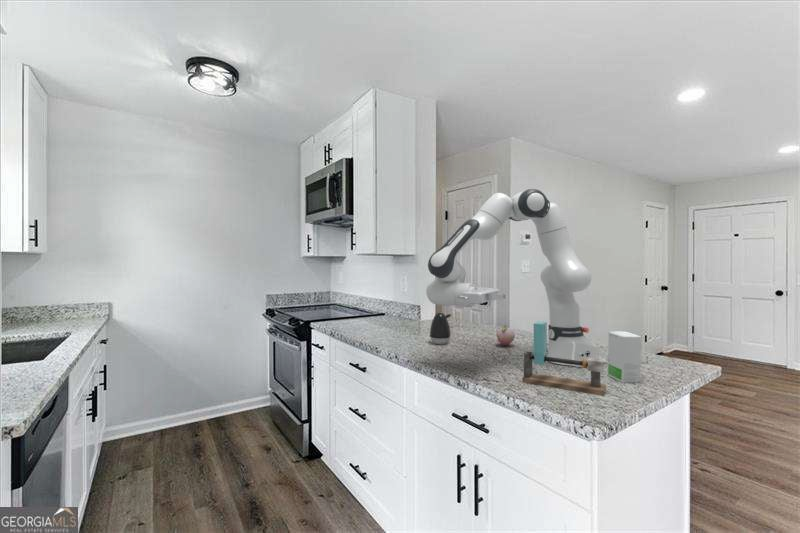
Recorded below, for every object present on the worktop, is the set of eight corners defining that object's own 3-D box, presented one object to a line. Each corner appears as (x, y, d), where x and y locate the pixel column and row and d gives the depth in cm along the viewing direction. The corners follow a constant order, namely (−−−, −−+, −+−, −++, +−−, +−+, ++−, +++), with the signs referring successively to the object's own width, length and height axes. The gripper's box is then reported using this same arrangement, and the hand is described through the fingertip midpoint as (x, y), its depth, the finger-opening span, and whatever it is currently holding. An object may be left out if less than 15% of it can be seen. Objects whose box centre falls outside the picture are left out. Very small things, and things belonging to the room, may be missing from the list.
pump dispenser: (452, 345, 182) (452, 314, 181) (430, 345, 182) (430, 314, 182) (449, 341, 192) (449, 311, 192) (429, 341, 192) (428, 311, 192)
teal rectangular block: (533, 364, 126) (533, 323, 125) (537, 361, 130) (537, 321, 130) (543, 365, 124) (543, 324, 124) (546, 362, 128) (546, 322, 128)
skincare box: (607, 375, 133) (606, 331, 133) (624, 374, 134) (624, 330, 133) (623, 383, 125) (622, 336, 125) (642, 382, 125) (642, 335, 125)
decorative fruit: (515, 348, 175) (515, 326, 174) (497, 347, 176) (497, 326, 176) (513, 344, 184) (513, 323, 184) (496, 343, 185) (496, 323, 185)
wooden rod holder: (522, 382, 127) (522, 353, 127) (527, 376, 133) (527, 349, 133) (603, 395, 114) (603, 363, 114) (605, 388, 120) (605, 358, 120)
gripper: (455, 288, 132) (494, 289, 124) (477, 284, 149) (512, 285, 142) (455, 306, 132) (494, 309, 125) (477, 300, 149) (512, 302, 142)
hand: (504, 296), depth 133 cm, fingers closed
